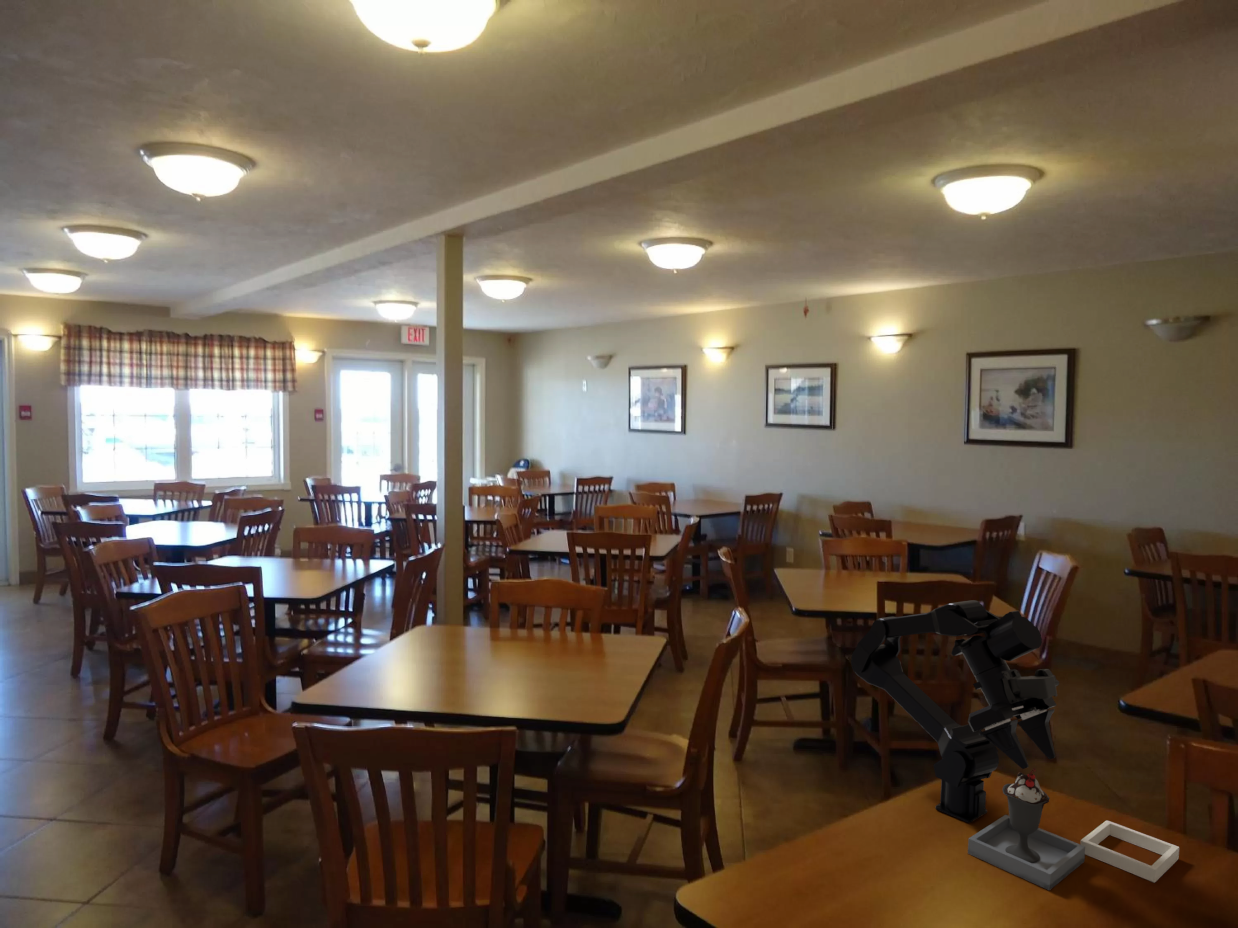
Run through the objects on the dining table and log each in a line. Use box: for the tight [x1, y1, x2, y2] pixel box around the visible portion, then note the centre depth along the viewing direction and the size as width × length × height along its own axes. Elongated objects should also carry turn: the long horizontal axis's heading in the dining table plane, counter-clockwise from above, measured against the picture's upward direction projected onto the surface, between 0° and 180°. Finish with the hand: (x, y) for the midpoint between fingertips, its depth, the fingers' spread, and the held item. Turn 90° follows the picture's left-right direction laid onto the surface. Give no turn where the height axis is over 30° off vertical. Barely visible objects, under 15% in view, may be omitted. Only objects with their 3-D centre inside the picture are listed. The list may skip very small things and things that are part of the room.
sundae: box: [1002, 767, 1050, 863], centre depth 128 cm, size 7×7×15 cm
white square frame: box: [1079, 820, 1180, 884], centre depth 130 cm, size 11×11×2 cm
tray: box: [967, 814, 1086, 891], centre depth 129 cm, size 13×13×2 cm
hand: (1039, 762), depth 131 cm, fingers open, 9 cm apart
